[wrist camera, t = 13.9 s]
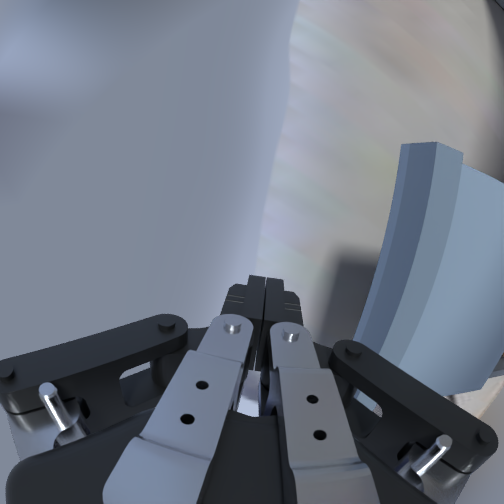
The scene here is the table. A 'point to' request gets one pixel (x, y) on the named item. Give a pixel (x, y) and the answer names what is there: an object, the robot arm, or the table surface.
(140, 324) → the robot arm
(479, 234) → the lid
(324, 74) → the table surface
